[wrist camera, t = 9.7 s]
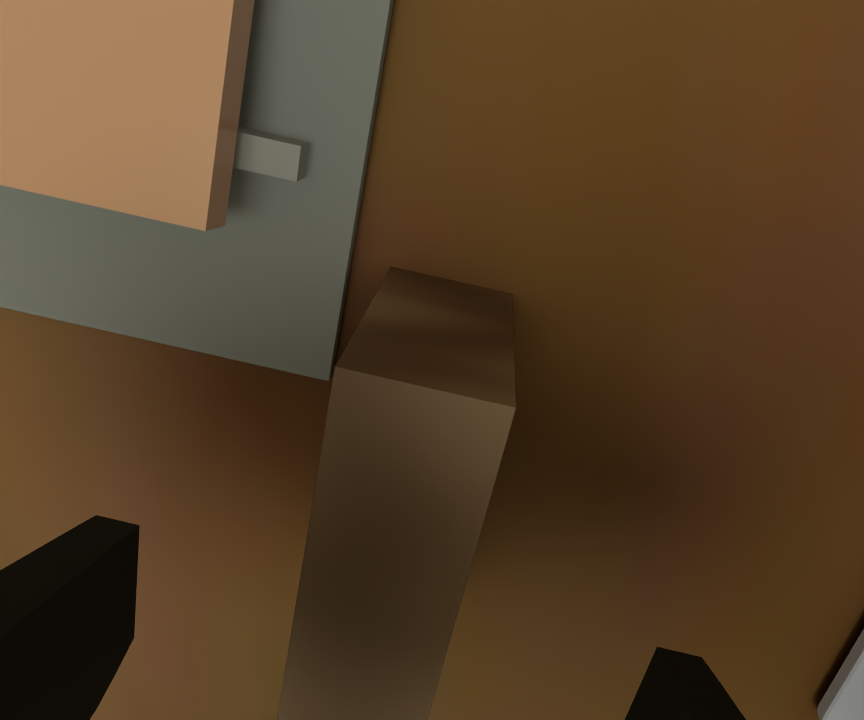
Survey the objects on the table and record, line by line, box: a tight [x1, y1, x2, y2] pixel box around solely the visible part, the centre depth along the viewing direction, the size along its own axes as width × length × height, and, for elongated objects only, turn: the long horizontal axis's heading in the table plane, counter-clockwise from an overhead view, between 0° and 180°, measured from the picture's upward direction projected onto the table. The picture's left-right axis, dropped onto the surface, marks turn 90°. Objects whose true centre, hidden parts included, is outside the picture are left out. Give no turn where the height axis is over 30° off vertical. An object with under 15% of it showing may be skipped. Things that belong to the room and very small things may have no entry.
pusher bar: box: [277, 267, 516, 720], centre depth 13 cm, size 2×7×5 cm, turn 168°
